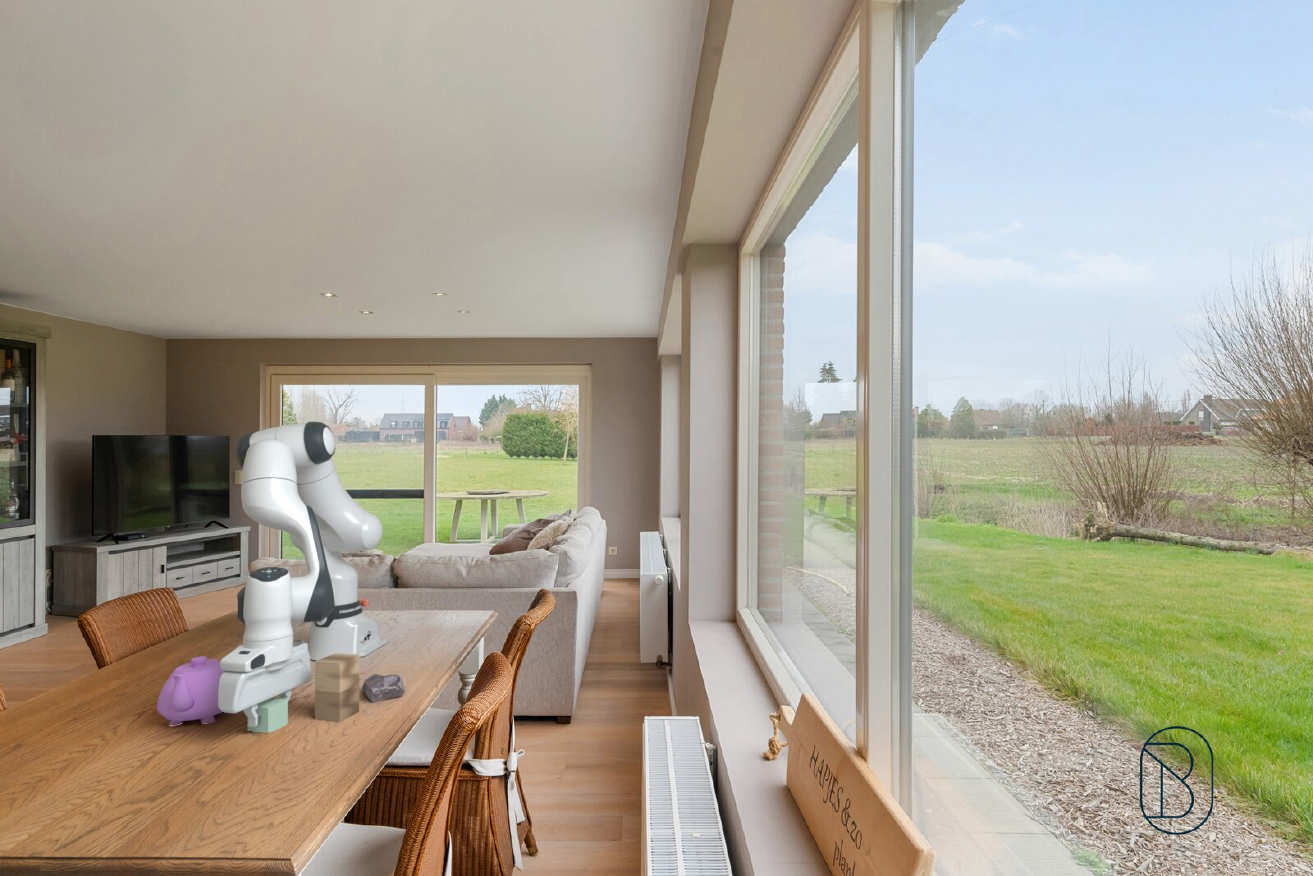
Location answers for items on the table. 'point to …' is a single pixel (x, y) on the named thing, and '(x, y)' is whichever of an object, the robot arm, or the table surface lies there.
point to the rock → (383, 687)
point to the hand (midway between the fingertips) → (267, 719)
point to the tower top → (336, 672)
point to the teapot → (191, 692)
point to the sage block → (271, 715)
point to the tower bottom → (336, 704)
